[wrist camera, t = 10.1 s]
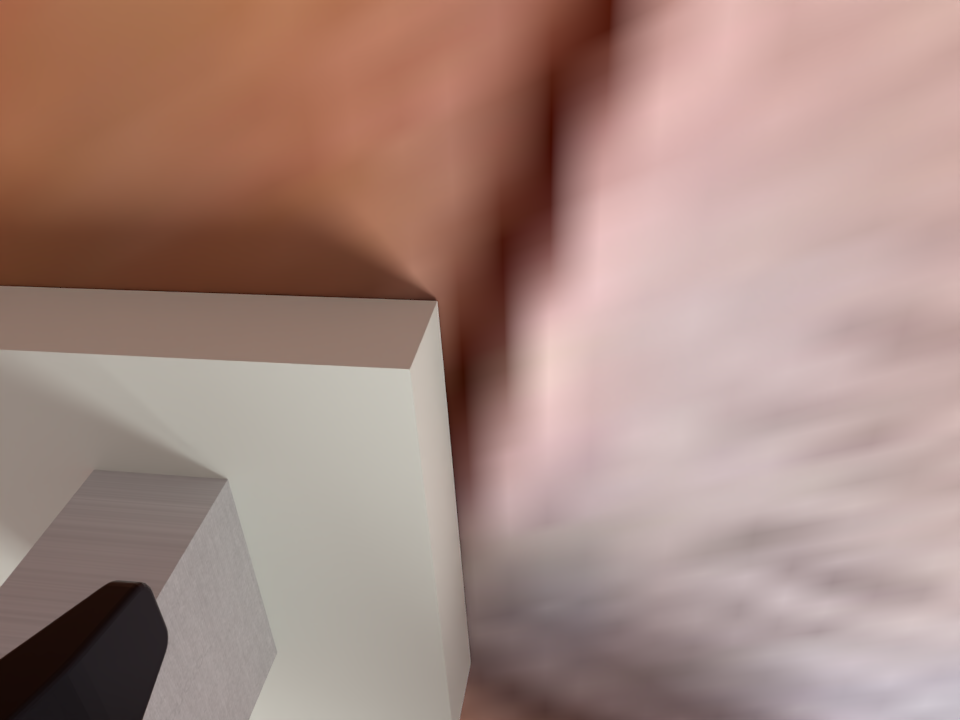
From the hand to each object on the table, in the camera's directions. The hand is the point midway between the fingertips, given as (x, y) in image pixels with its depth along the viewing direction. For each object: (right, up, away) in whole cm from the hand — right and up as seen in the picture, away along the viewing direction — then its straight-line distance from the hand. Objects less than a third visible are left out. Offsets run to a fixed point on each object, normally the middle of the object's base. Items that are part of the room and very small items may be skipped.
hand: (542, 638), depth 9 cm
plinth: (-8, -1, +17) cm, 19 cm away
